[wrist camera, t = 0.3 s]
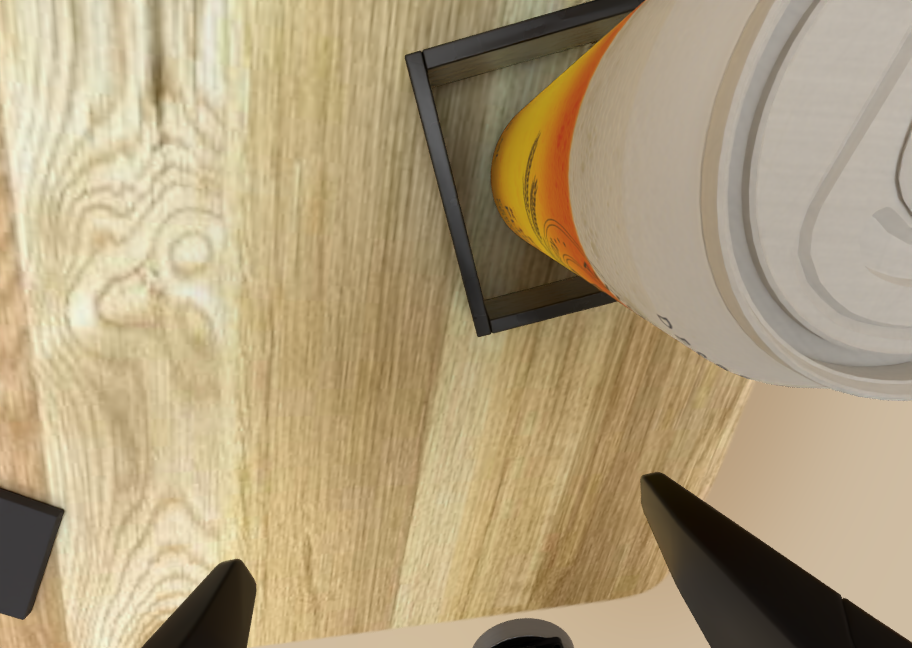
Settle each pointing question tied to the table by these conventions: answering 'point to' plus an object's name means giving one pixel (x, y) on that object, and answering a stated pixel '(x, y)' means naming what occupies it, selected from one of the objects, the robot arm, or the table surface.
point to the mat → (24, 550)
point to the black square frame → (425, 73)
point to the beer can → (736, 183)
